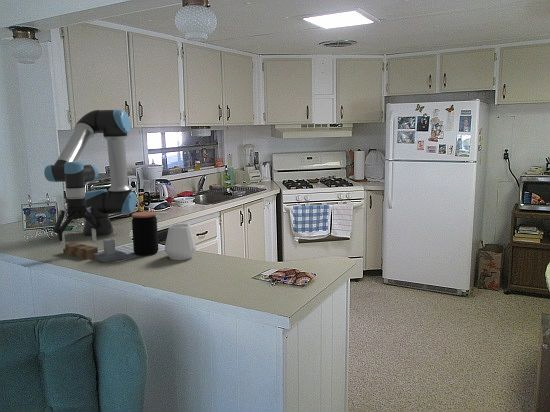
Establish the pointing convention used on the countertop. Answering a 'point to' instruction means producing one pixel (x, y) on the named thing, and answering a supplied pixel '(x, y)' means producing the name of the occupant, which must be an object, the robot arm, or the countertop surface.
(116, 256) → the slate fulcrum
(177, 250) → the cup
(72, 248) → the walnut bar
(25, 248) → the countertop surface
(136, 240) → the coffee jar
